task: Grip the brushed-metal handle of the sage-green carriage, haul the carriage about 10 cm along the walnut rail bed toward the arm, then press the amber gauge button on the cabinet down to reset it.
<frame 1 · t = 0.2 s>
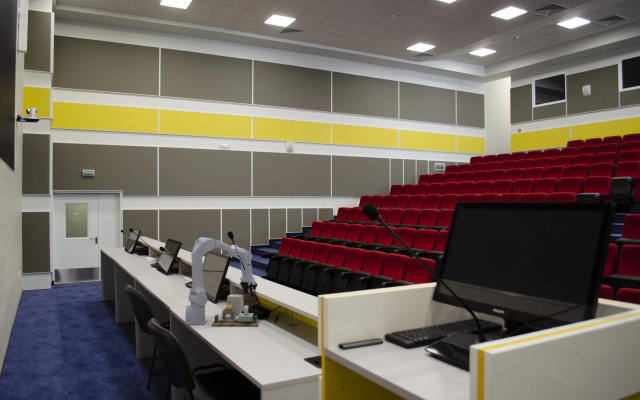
hand: (249, 295, 256), 10 cm above the table, tool pointing down, fingers open, 7 cm apart
small box: (235, 314, 254), on the table
gauge cabinet: (228, 319, 243), on the table
carriage: (246, 312, 235), point 6 cm above the table, slide at 0.0 cm
rail bed: (236, 323, 234), on the table
gauge button: (229, 307, 243), point 6 cm above the table, slide at 0.0 cm
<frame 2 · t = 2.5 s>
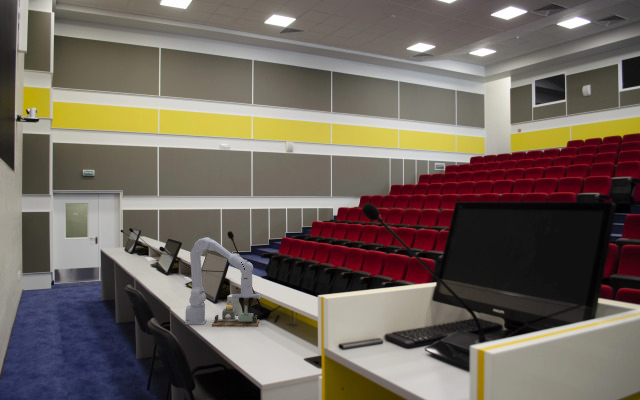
hand: (246, 312, 235), 6 cm above the table, tool pointing down, fingers closed on carriage, 2 cm apart
carriage: (246, 312, 235), point 6 cm above the table, slide at 0.0 cm, touching gripper
everything else where it was.
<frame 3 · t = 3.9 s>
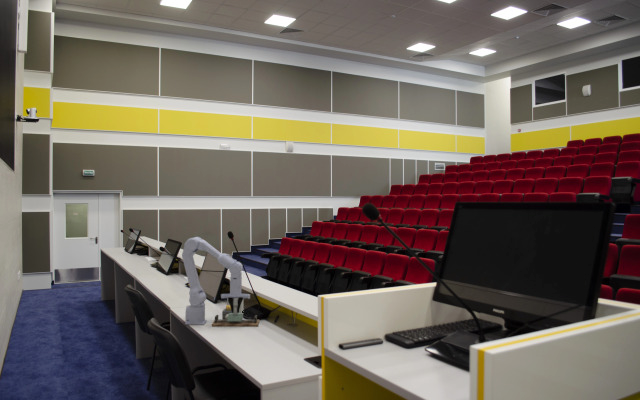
hand: (235, 312, 234), 6 cm above the table, tool pointing down, fingers closed on carriage, 2 cm apart
carriage: (235, 312, 234), point 6 cm above the table, slide at 5.4 cm, touching gripper
everything else where it was.
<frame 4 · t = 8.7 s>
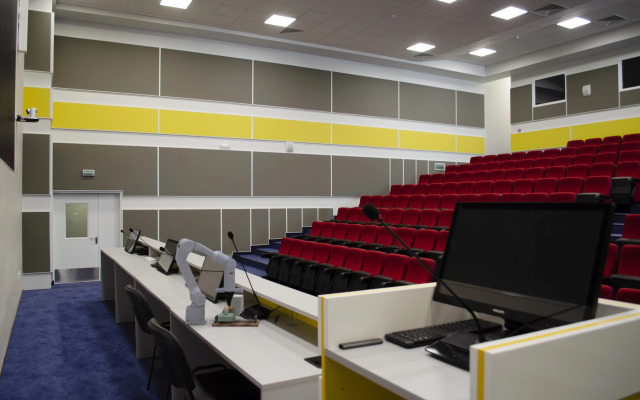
hand: (229, 305, 243), 7 cm above the table, tool pointing down, fingers closed, pressing on gauge button
carriage: (226, 312, 234), point 6 cm above the table, slide at 10.2 cm
gauge button: (229, 307, 243), point 6 cm above the table, slide at 0.1 cm, touching gripper
everything else where it was.
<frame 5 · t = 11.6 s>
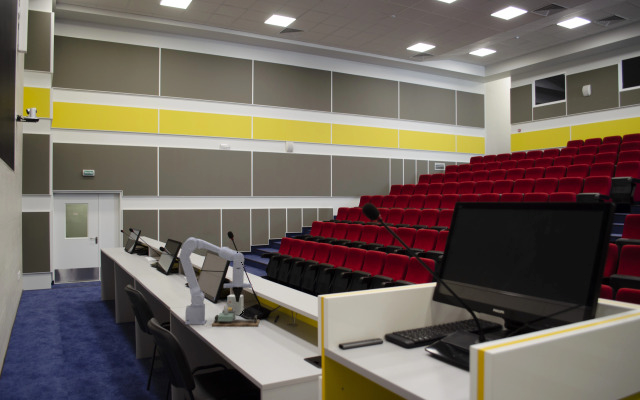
hand: (237, 301, 239), 10 cm above the table, tool pointing down, fingers closed
gauge button: (228, 309, 243), point 5 cm above the table, slide at 1.2 cm
everything else where it was.
at the end: carriage slide at 10.2 cm; gauge button slide at 1.2 cm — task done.
